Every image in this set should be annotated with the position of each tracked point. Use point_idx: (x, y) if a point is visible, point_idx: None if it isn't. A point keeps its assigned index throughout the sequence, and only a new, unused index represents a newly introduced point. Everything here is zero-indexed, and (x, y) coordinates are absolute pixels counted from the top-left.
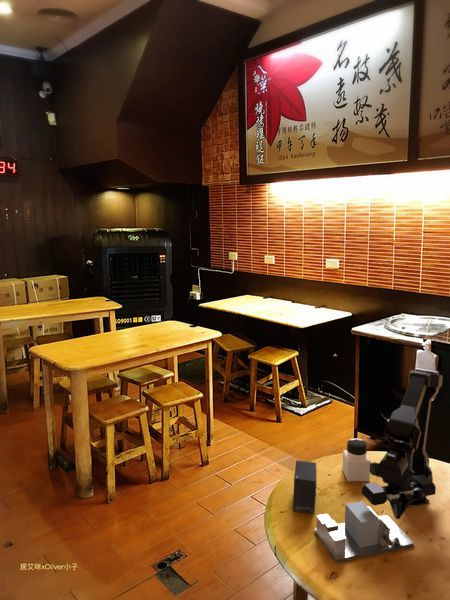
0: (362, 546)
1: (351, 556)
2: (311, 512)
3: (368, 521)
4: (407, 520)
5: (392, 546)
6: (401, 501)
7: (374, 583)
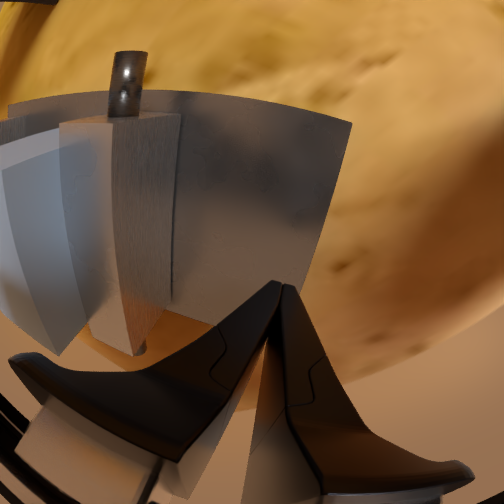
0: None
1: None
2: (47, 4)
3: (20, 327)
4: (431, 208)
5: (179, 310)
6: (178, 495)
7: (87, 329)
